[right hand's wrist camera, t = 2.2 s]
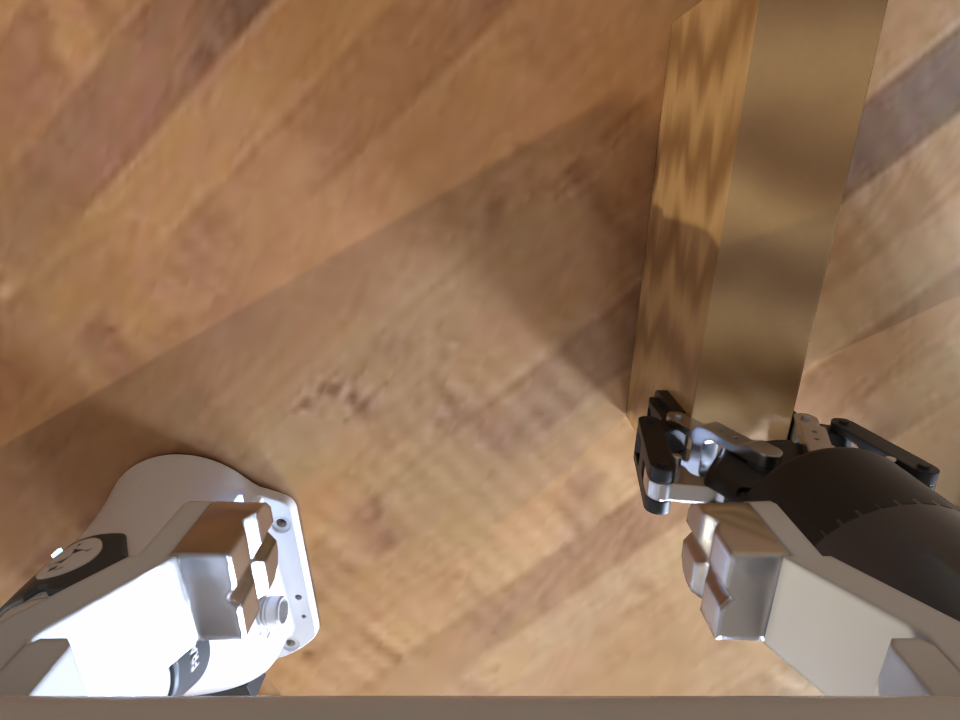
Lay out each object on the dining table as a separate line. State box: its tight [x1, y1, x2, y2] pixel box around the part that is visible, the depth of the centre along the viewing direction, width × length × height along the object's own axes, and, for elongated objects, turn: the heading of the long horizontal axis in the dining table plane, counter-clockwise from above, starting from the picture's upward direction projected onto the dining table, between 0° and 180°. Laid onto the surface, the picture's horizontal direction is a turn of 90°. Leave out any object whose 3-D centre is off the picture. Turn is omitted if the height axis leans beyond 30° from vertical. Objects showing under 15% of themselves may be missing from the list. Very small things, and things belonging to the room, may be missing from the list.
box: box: [626, 0, 888, 503], centre depth 33 cm, size 28×6×12 cm, turn 179°
